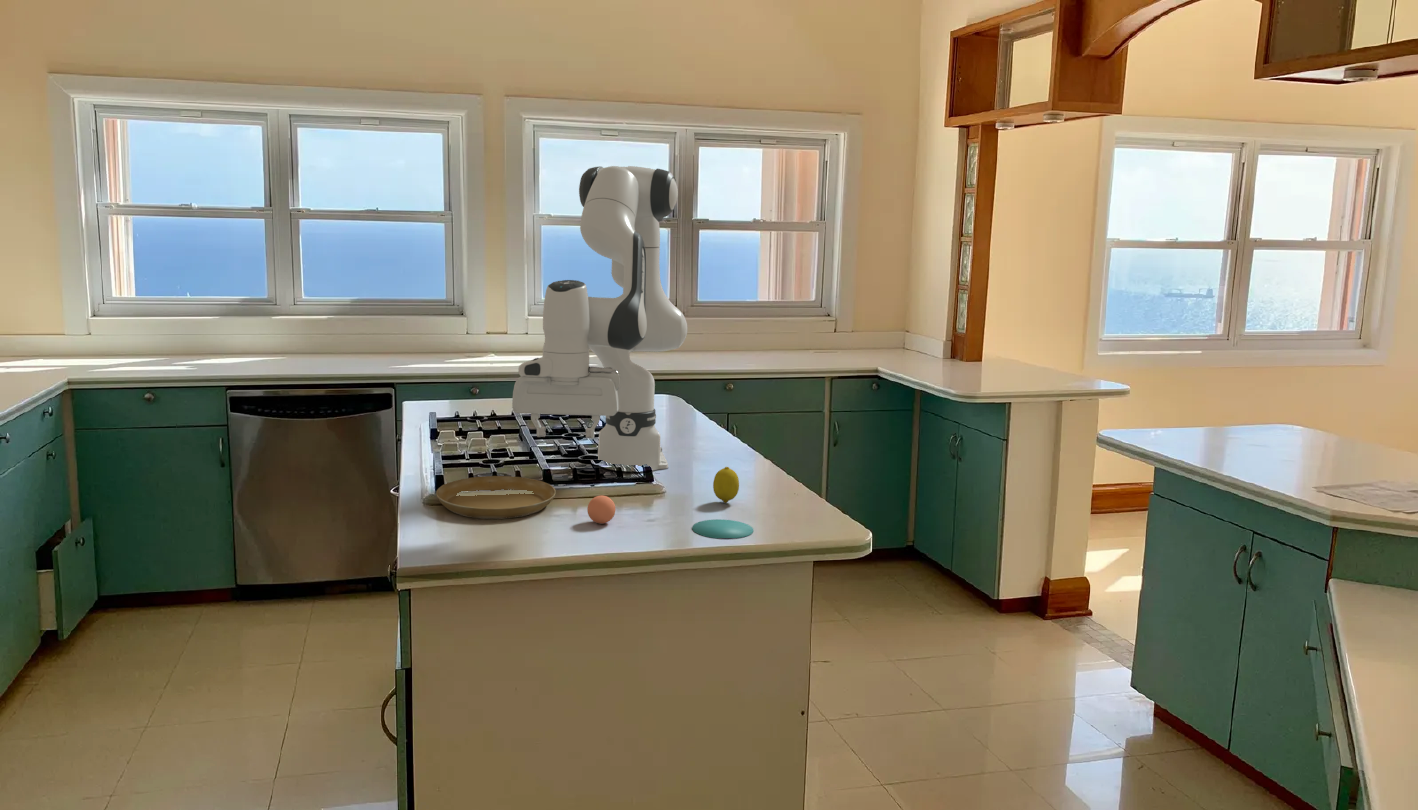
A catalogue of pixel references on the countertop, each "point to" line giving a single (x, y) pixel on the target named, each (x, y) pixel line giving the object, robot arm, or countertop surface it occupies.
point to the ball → (601, 509)
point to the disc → (722, 529)
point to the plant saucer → (496, 497)
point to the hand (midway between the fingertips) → (565, 437)
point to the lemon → (726, 484)
